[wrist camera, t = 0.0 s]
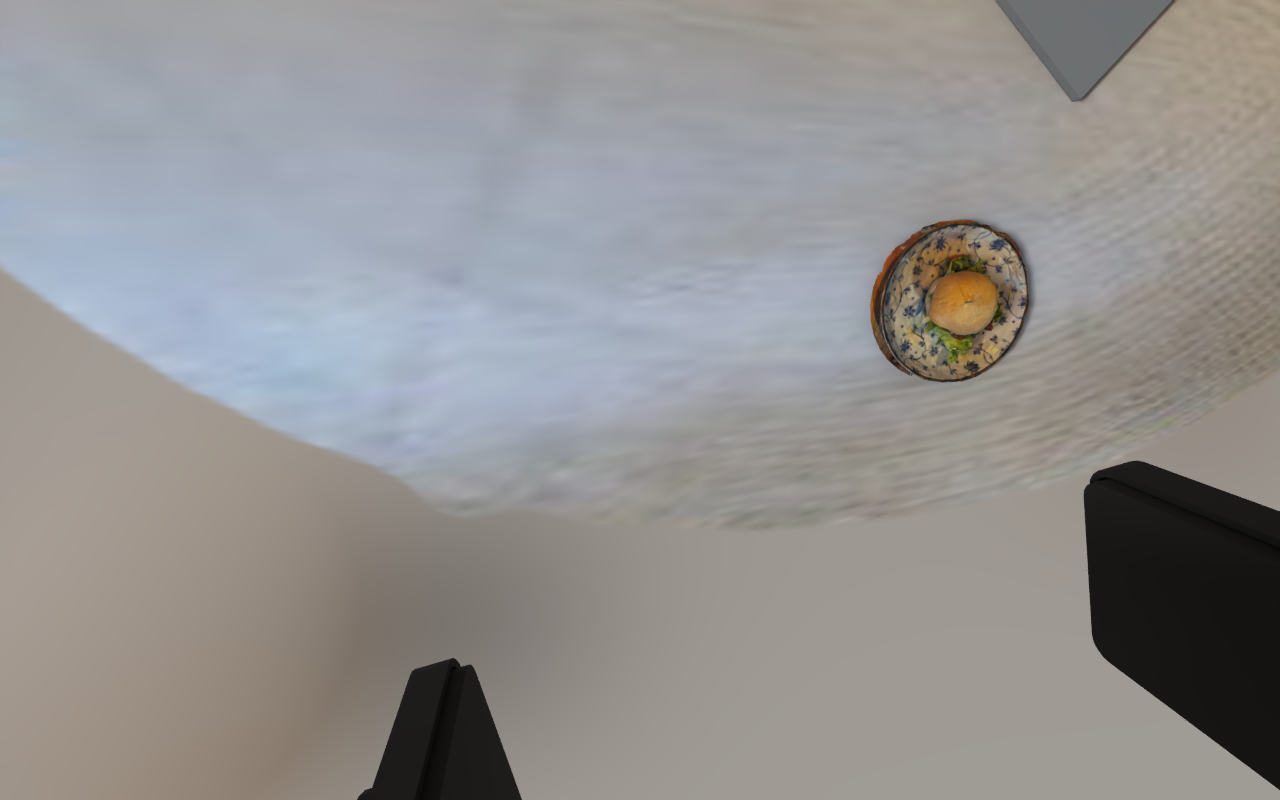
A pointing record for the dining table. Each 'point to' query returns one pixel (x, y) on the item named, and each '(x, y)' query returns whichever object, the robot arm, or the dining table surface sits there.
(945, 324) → the burger
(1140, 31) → the mat
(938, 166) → the dining table surface
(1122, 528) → the robot arm
